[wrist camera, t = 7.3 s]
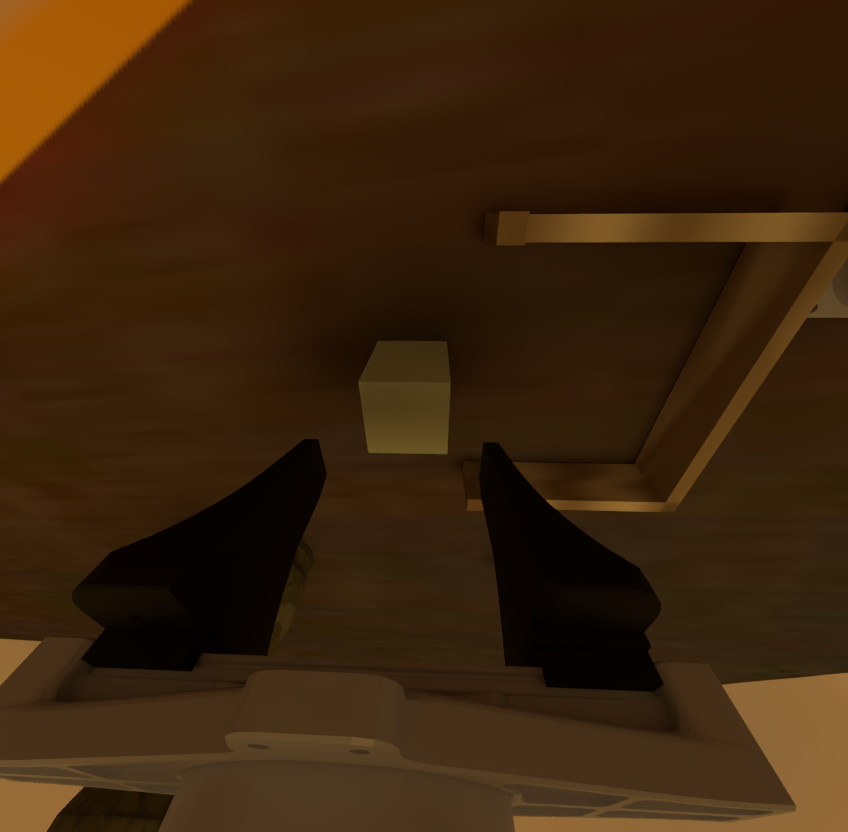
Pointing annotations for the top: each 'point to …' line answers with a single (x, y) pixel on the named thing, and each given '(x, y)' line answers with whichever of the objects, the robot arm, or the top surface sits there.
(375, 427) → the sage block
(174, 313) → the top surface
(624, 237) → the open crate
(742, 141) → the top surface
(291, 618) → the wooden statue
